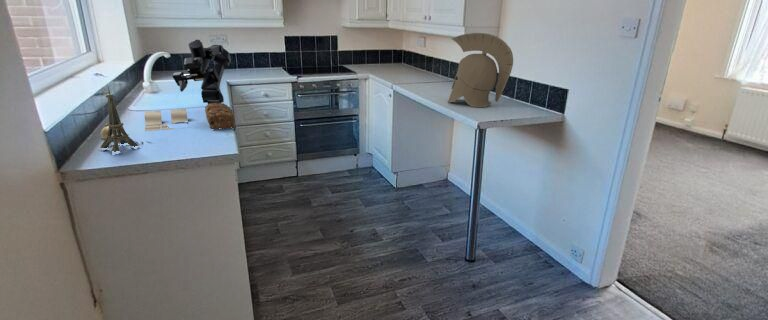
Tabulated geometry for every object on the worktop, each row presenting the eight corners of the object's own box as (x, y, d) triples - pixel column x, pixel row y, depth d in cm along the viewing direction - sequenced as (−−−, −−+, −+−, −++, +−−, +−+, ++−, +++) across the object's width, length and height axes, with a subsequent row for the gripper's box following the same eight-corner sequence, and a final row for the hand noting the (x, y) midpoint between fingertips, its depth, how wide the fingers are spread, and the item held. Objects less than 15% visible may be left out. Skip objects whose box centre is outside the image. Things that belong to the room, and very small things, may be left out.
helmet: (452, 98, 269) (457, 30, 255) (510, 104, 254) (519, 34, 241) (441, 104, 252) (446, 32, 238) (503, 111, 237) (512, 35, 224)
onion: (125, 136, 178) (122, 120, 175) (125, 142, 171) (122, 124, 169) (102, 139, 174) (99, 122, 172) (101, 144, 168) (98, 126, 165)
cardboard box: (146, 129, 188) (145, 125, 188) (188, 125, 195) (188, 122, 195) (145, 134, 181) (144, 131, 180) (189, 130, 188) (189, 127, 187)
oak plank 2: (170, 112, 198) (170, 109, 197) (186, 111, 200) (185, 108, 199) (172, 125, 194) (172, 123, 193) (188, 124, 196) (188, 121, 195)
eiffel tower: (114, 155, 156) (100, 86, 148) (97, 150, 161) (83, 83, 152) (142, 148, 165) (130, 82, 156) (125, 143, 170) (113, 79, 161)
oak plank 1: (144, 114, 193) (144, 111, 192) (160, 112, 196) (160, 110, 195) (145, 127, 189) (145, 125, 188) (162, 126, 192) (162, 124, 191)
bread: (206, 123, 200) (203, 102, 197) (230, 121, 205) (228, 100, 201) (210, 134, 184) (207, 111, 181) (236, 131, 189) (234, 109, 185)
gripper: (171, 54, 190) (161, 77, 180) (213, 50, 189) (204, 72, 179) (183, 74, 198) (173, 97, 188) (222, 70, 197) (215, 93, 187)
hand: (191, 89), depth 185 cm, fingers open, 9 cm apart
